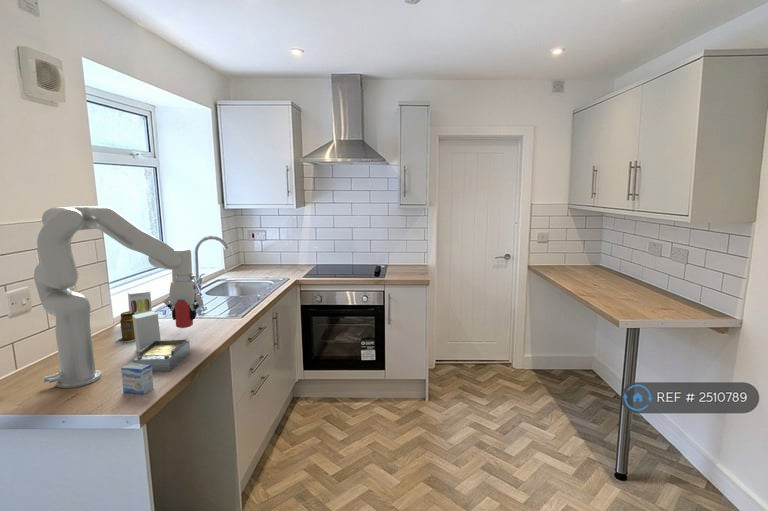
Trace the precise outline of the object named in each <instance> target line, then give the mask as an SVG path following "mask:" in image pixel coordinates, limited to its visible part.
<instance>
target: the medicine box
mask: <svg viewBox="0 0 768 511" xmlns="http://www.w3.org/2000/svg"><path fill="white" fill-rule="evenodd" d="M120 371H121V380H122V381H121V382H122V391H123V394H124V393H125V394H138V395H145V394H147V393H148V392H150V391H152V390H153V389H154V377H153V372H152V365H148V364H135V363H134V362H133V363H132V362H130V363H128V364H126V365H124V366H122V367H121V368H120Z"/></svg>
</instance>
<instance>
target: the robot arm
mask: <svg viewBox="0 0 768 511" xmlns="http://www.w3.org/2000/svg"><path fill="white" fill-rule="evenodd" d="M41 223H42V224H43V225H42V227H41V229H40V231H39V233H38V236H37V241H36V245H37V246H36V247H37V252H38V255H39V261H40V262H39V263H38V264H37V266H36V267H35V268H34V271H33V278H34V283H35V287H36V289H37V293H38V295H39V296H38V298H40V300H39V301H40V302H41V305H42V308H43V309H44V311H46V313H47V314H49V315H52V316H54V317H55V331H54V332H55V340H56V345H57V355H58V361H59V368H60V369H58V372H55V373H54V374H49V375H45V376H43V382H44V383H47V382H49V383H50V384H51V383H55V385H56V386H57V387H58V388H61V389H73V388H77V387H81V386H86V385H89V384H91V383H93V382H96V381H98V380H99V379H100V378H101V377H102V371H101V370H99V369H96V365H95V355H94V348H93V347H94V346H93V340H92V339H93V338H92V333H91V332H92V329H91V311H92V310H91V309H92V308H91V303H90V300H88V298H87V297H86V296H85V295H84V294H82V293H80V292H78V291H77V292H76V291H74V290H73V287H74V286H75V285H76V284H77V283H78V281H79V272H78V268H77V265H76V261H75V258H74V254H73V249H72V240H73V237H74V236H75V234H76V233H78V231H84V230H85V231H86V230H99V231H101V232H103V233H104V234H106V235H107V236H108V237H110V238H112V239H113V240H114V241H116V242H117V243H119V244H120V245H122V246H123V247H125V248H126V249H129V250H132V251H134V252H138V253H140V254H143V255H145V256H147V257H148V262H149V264H150V265H151V266H153V267H155V268H157V269H158V268H159V269H162V270H163V269H165V270H171V278H172V280H171V281H170V285H169V296H168V297H167V298H166V299H165V300H164V301H163V303H164V304H165V306H167V308H168V309H169V310H170V311H171V318H172V321H176V317H175V304H176V302H177V300H185V302H186V303H187V304H188V305H190V308H191V311H190V316H191V320H193V321H194V320H195V319H196V318H197V309H198V308H199V307H200V306H201V305H202V304H203V303H204V300H202V298H200V297H199V296H198V291H197V285H196V281H195V279H196V275H194V274H193V265H192V260H193V259H192V251H191V249H189V248H172V247H171V246H170V245H168V243H165V242H164V241H162V240H161V239H159V238H157V237H155V236H153V235H152V234H150V233H148V232H147V231H145V230H143V229H141V228H140V227H139V226H137V225H136V224H135V223H133V222H131V221H130V219H128V218H127V217H125V216H123V214H121V213H120V212H118V211H117V210H115V209H114V208H112V207H109V206H107V205H106V206H105V205H92V206H91V205H89V206H65V207H63V206H57V207H54V206H53V207H51V208H48V209H46V210H45V211H44V212H43V213H42V216H41Z"/></svg>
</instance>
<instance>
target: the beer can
mask: <svg viewBox="0 0 768 511" xmlns="http://www.w3.org/2000/svg"><path fill="white" fill-rule="evenodd" d="M190 311H191V308H190V305H188V304H187V303H186V302H185V300H177V302H176V304H175V317H176V320H175V326H176V328H179V329H187V328H190V327H191V326H193V325H194V319H193V320H191V316H190Z"/></svg>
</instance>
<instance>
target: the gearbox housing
mask: <svg viewBox="0 0 768 511" xmlns="http://www.w3.org/2000/svg"><path fill="white" fill-rule="evenodd" d="M190 344H191V343H190V340H187V339H161V340H154V341H153V342H152V343H150V344H149V345H147V346H146V347H145V348H143V349H142V350H140V351H139V352H138V356H137V357H136V358H134V359H133V363H135V364H148V365H152V373H166V372H167V373H170V372H172V371H173V370H174V369H175V368H176V367H177V366H178V365H179V364H180V363H182V361H184V360H185V359H186V358H187V356H189V355H190V354H191V345H190Z"/></svg>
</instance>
